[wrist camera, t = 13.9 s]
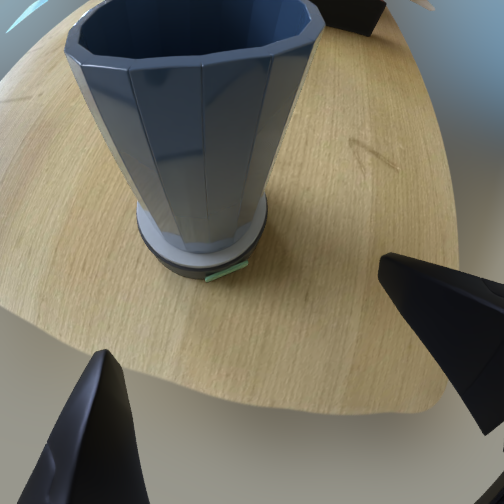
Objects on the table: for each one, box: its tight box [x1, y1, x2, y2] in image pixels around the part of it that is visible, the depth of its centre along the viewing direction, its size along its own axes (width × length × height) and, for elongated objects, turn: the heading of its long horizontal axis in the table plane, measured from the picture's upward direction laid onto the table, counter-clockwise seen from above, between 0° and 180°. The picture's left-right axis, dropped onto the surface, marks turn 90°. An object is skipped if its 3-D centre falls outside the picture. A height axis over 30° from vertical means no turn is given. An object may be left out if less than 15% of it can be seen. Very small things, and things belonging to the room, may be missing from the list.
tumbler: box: [64, 0, 326, 254], centre depth 11 cm, size 7×7×13 cm
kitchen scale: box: [136, 191, 268, 282], centre depth 19 cm, size 9×9×4 cm
